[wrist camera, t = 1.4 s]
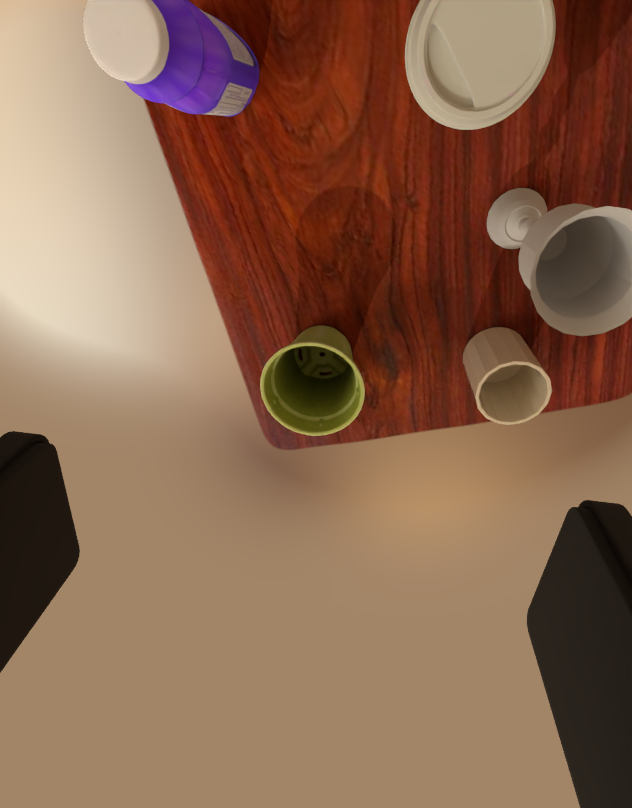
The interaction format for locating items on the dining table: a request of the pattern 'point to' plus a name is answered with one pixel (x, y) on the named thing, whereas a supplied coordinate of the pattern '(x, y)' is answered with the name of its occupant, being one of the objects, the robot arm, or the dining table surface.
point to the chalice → (569, 259)
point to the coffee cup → (477, 57)
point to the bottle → (172, 54)
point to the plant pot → (313, 383)
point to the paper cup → (505, 376)
